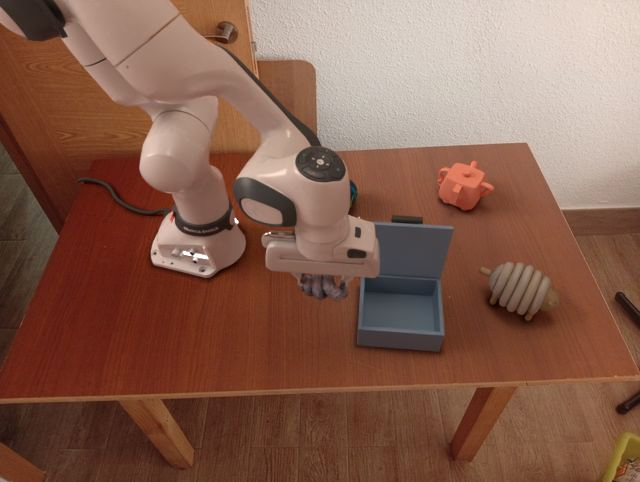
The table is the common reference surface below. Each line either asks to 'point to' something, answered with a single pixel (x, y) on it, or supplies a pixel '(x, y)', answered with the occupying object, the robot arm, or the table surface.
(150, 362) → the table surface
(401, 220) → the lid
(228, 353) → the table surface
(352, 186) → the christmas ornament
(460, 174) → the teapot
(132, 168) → the table surface
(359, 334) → the chest
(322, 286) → the seashell
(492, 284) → the toy sheep
